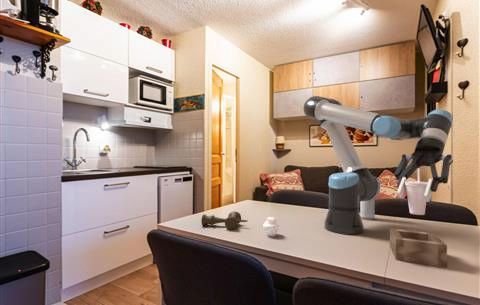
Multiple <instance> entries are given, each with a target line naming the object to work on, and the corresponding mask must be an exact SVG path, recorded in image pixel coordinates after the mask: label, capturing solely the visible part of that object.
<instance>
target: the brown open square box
mask: <svg viewBox="0 0 480 305" xmlns="http://www.w3.org/2000/svg"><path fill="white" fill-rule="evenodd" d="M389 247H390V249H391V252H392V254H393V257H394V259H395V261H403V262H410V263H416V264H423V265H429V266H436V267H442V268H448V245H447V244H446V243H445V242H444V241H443V240H442V239H441V238H440V237H439V236H437V234H435V233H434V232H427V231H426V232H425V231H415V230H408V229H407V230H406V229H398V228H397V229H396V228H389Z"/></svg>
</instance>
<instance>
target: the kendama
mask: <svg viewBox="0 0 480 305" xmlns="http://www.w3.org/2000/svg"><path fill="white" fill-rule="evenodd" d="M200 221H201V226H202V227H205V226H207V225H210V226H214V225H216V224H222V223H224V227H225V229H227V230H228V231H234V230H236V229H237V228H238V226H239V224H240V223H247V222H248V220H247V219H242V216H241V213H240V212H239V211H230V212H229V214H228V216H227V217H226V218H223V217H218V216H215V215H213V214H212V215H207V214H206V213H205V214H202V216H201V220H200Z"/></svg>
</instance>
